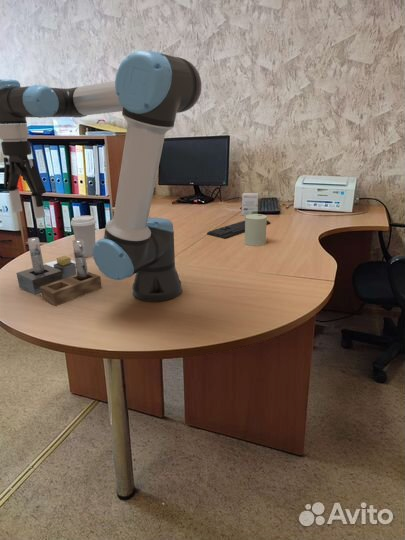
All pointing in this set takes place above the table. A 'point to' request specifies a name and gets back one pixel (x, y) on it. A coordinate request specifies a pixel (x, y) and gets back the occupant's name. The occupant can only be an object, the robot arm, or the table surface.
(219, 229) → the dark grey ribbed block
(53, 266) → the external hard drive
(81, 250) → the test tube
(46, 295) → the rack
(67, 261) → the yellow piece
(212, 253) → the table surface
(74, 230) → the coffee cup
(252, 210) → the ink box
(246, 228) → the can
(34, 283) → the block
